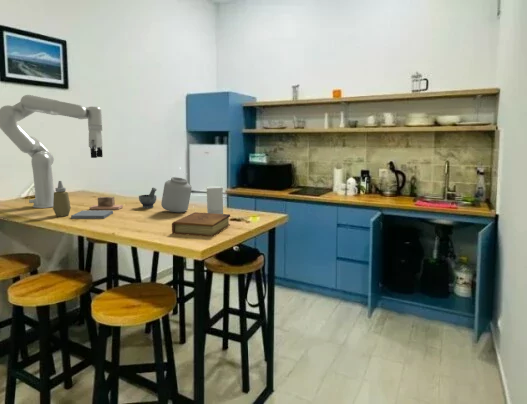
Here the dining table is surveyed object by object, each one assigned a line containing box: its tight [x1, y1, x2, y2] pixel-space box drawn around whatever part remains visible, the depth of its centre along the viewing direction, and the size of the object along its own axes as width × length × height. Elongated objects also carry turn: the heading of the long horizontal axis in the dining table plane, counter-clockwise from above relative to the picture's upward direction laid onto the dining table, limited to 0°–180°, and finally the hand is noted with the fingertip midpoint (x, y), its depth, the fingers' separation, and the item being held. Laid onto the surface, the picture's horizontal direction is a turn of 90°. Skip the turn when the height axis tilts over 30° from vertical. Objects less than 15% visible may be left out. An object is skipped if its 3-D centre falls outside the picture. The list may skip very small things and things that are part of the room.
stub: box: [89, 196, 124, 210], centre depth 222 cm, size 16×8×6 cm, turn 94°
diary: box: [171, 211, 231, 237], centre depth 176 cm, size 23×19×6 cm
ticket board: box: [70, 209, 114, 220], centre depth 201 cm, size 16×14×2 cm
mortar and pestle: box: [138, 187, 158, 209], centre depth 227 cm, size 11×9×12 cm
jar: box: [160, 167, 194, 214], centre depth 214 cm, size 19×15×25 cm
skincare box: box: [206, 185, 224, 214], centre depth 204 cm, size 8×7×16 cm
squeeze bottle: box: [52, 180, 72, 217], centre depth 200 cm, size 8×8×18 cm
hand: (96, 157), depth 232 cm, fingers open, 9 cm apart
